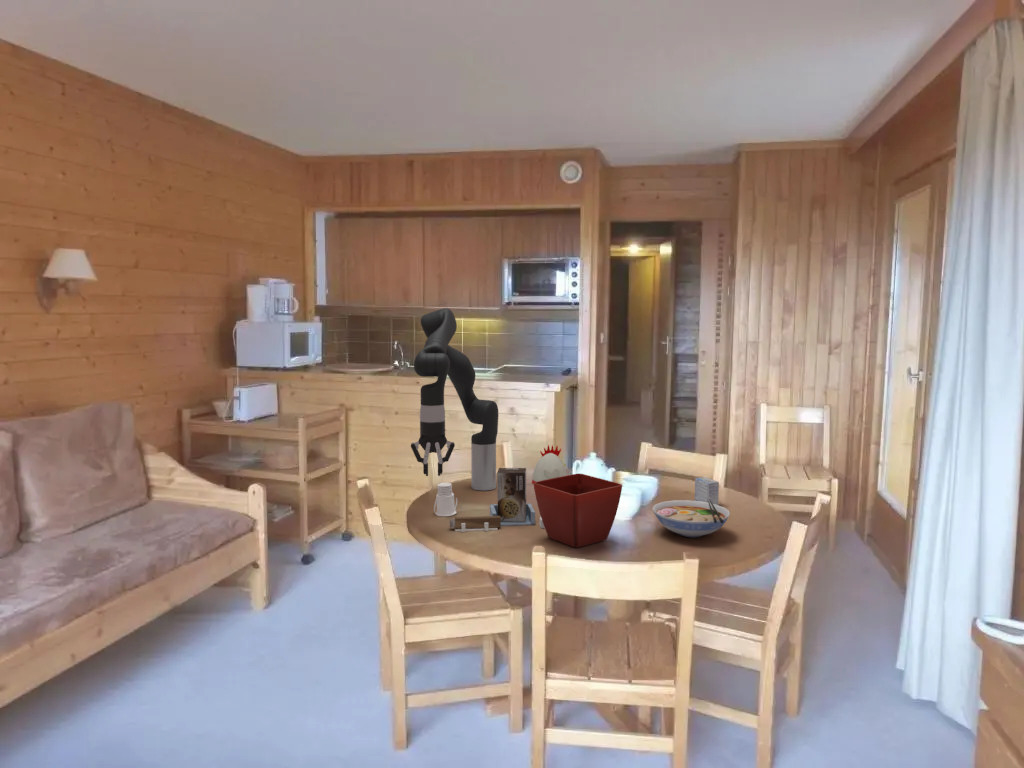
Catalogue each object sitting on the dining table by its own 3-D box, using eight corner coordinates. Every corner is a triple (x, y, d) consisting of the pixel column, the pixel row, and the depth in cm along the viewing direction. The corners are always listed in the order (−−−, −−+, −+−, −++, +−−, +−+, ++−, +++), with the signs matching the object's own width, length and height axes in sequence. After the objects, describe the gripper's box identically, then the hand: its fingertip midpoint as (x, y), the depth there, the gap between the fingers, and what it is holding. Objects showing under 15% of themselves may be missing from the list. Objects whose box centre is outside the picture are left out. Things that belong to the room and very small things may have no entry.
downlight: (453, 509, 247) (452, 480, 246) (461, 514, 241) (459, 485, 240) (431, 513, 244) (429, 483, 242) (438, 518, 238) (436, 488, 236)
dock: (489, 516, 239) (489, 504, 239) (530, 515, 241) (530, 503, 240) (492, 526, 229) (492, 513, 228) (535, 524, 230) (535, 512, 230)
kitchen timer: (569, 487, 277) (569, 448, 275) (533, 487, 276) (533, 448, 275) (566, 478, 290) (566, 441, 289) (531, 478, 290) (531, 441, 288)
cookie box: (526, 516, 238) (527, 467, 236) (525, 522, 231) (525, 472, 229) (498, 515, 238) (498, 467, 236) (496, 521, 232) (496, 471, 230)
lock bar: (449, 526, 227) (449, 517, 226) (499, 524, 228) (499, 515, 228) (450, 529, 224) (450, 519, 224) (500, 527, 226) (500, 518, 225)
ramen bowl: (651, 519, 236) (651, 494, 235) (724, 523, 232) (725, 498, 231) (652, 545, 211) (653, 517, 210) (734, 549, 208) (735, 521, 207)
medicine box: (718, 506, 251) (719, 481, 250) (707, 507, 250) (708, 482, 249) (704, 500, 259) (705, 476, 258) (694, 502, 257) (694, 477, 256)
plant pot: (531, 536, 219) (531, 481, 217) (578, 525, 230) (579, 472, 228) (574, 554, 204) (575, 495, 202) (623, 541, 215) (624, 484, 213)
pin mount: (454, 526, 228) (454, 518, 228) (542, 523, 232) (542, 515, 231) (455, 532, 223) (455, 524, 222) (545, 529, 226) (545, 521, 225)
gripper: (408, 421, 216) (409, 479, 218) (456, 420, 218) (456, 477, 220) (409, 417, 224) (410, 473, 226) (455, 416, 225) (455, 472, 227)
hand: (433, 475), depth 223 cm, fingers open, 3 cm apart
